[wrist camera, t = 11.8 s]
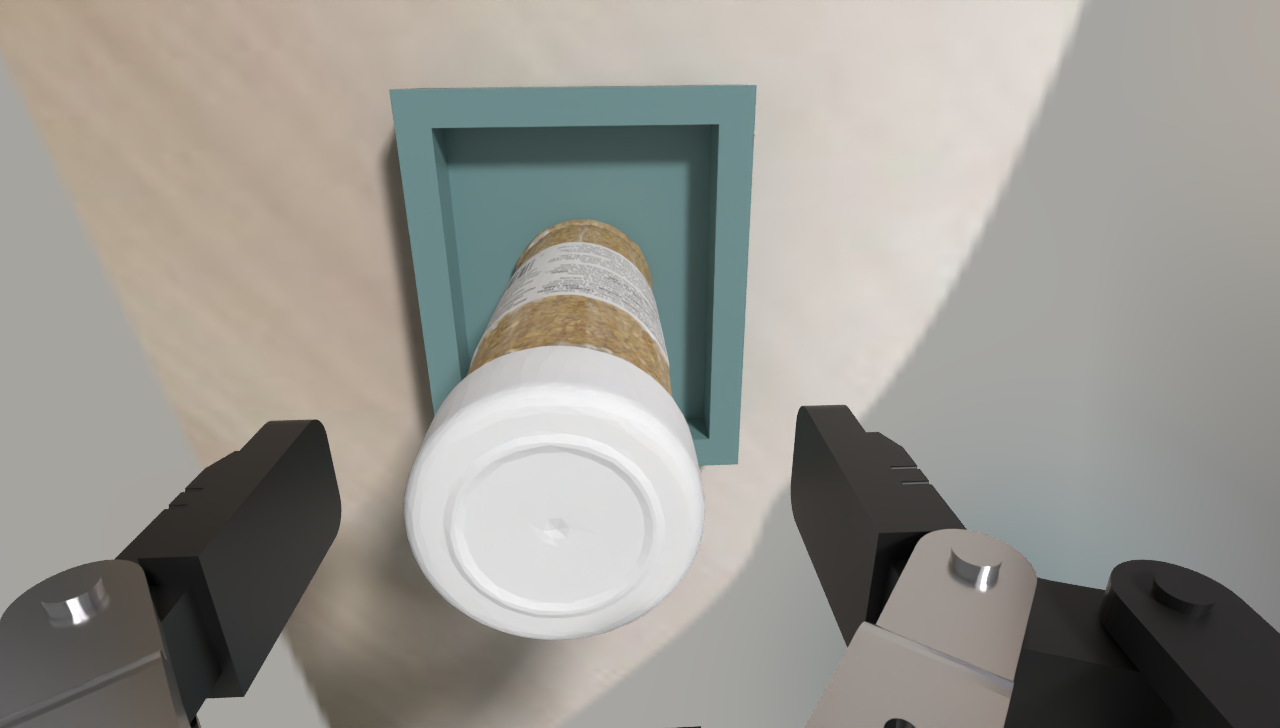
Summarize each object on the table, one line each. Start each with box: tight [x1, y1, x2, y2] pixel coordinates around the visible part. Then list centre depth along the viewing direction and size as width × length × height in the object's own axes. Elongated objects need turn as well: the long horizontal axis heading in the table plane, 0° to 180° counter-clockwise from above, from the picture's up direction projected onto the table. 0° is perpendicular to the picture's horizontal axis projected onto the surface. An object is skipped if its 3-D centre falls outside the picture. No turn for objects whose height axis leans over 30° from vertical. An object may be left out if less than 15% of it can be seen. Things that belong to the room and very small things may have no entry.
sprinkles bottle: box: [404, 219, 705, 640], centre depth 16 cm, size 5×5×13 cm
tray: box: [389, 85, 756, 465], centre depth 22 cm, size 12×10×2 cm
